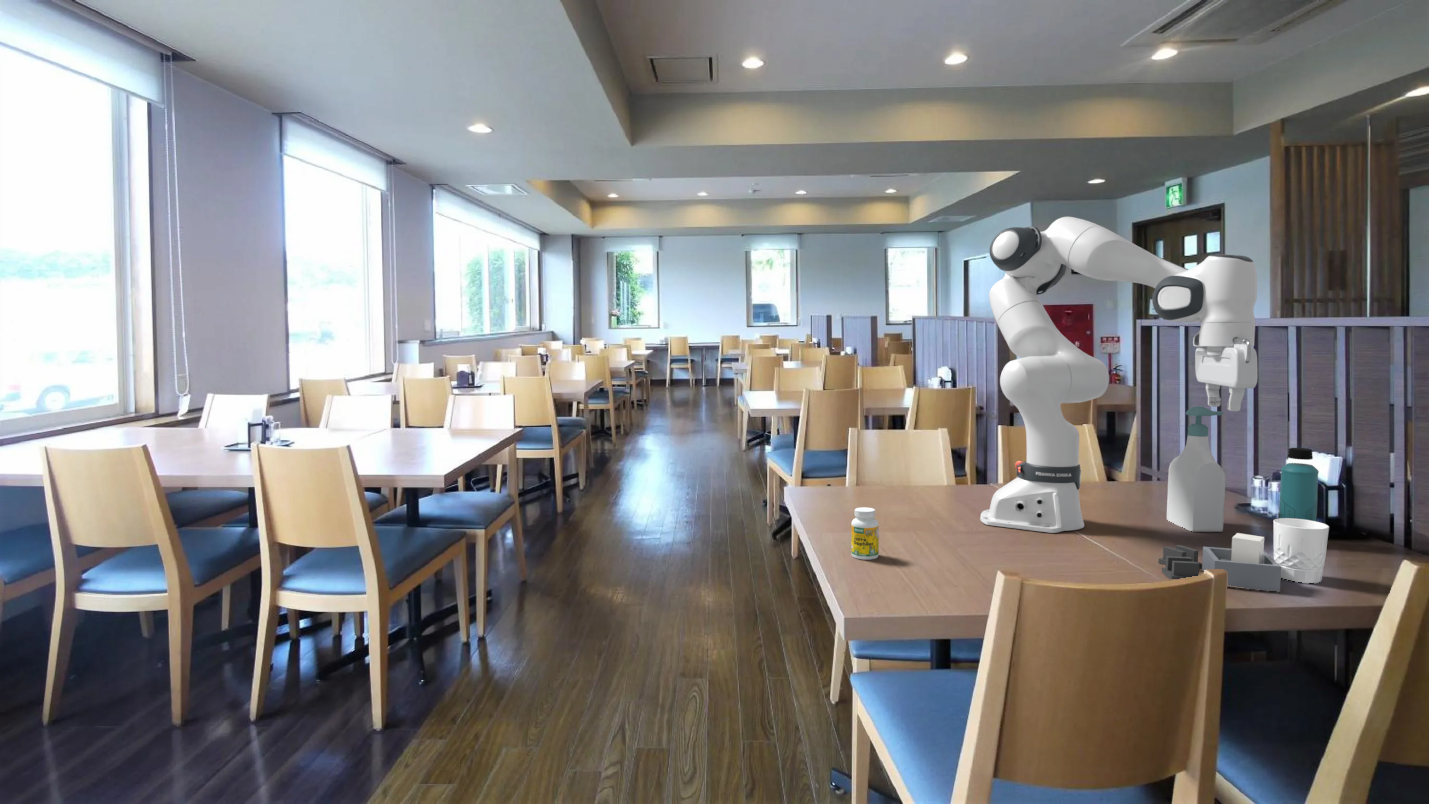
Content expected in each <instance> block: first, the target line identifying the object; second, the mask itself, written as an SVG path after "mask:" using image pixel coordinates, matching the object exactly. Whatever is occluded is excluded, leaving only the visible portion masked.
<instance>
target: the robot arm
mask: <svg viewBox="0 0 1429 804" xmlns="http://www.w3.org/2000/svg"><path fill="white" fill-rule="evenodd" d="M989 256H990V259H991V261H992V262H993V264H994V265H995V266H996V267H997V268H998V269H999V270H1001V271H1003V272H1005V273H1004V276H1003V278H1001V279H999V280H998V281H996V282H995V283H994V284H993V285H992V287H991V288H990V290H989V292H988V293H989V294H988V300H989V304H990V307H991V311H992V314H993V318H994V320H995V322H996V324H997V326H998V329H999V330H1000V333H1001V334H1002V336H1003V338H1004V341H1006V344H1007V346H1008V348H1009V350H1010V351H1011V352H1012V353H1013V354H1014V355H1015V356H1017V357H1018V358H1016V359H1013V360H1010V361H1008V362H1007V363H1006V364H1005V365H1004V366H1003V369H1002V370H1001V374H1000V377H999V385H1000V388H1001V389H1000V390H1001V391H1002V394H1003V395H1004V396H1005V399H1007V400H1009V401H1010V402H1011V403H1012V404H1013V405H1014V406H1015V408H1016V409H1017V410H1018V411H1019V413H1020V415H1021V418H1022V421H1023V423H1024V427H1025V436H1026V437H1025V439H1026V442H1025V443H1026V461H1022V460H1018V461H1016V462H1015V465H1014V467H1015V469H1016V477H1015V478H1014V479H1012V480H1011V481H1009V482H1008V483H1006V484H1005V485H1003V486H1001V487H1000V488H999V489H997V490H996V491H995V492H994V494H993V495H992V497H991V501H990V506H989V509H985V510H982V511H981V513H980V517H979V520H980V522H982V524H985V525H987V526H992V527H993V526H995V527H1003V528H1010V529H1017V530H1026V531H1035V532H1042V533H1043V532H1044V533H1051V534H1056V533H1061V532H1064V531H1065V532H1067V531H1075V530H1076V531H1077V530H1080V529H1083V528H1084V527H1085V525H1086V524H1085V522H1084V518H1083V514H1082V510H1081V503H1080V492H1079V491H1080V489H1081V485H1082V484H1081V483H1082V469H1081V464H1080V463H1079V460H1080V459H1079V457H1080V433H1079V430H1078V428H1077V427H1076V426H1075V425H1074V424H1072V423H1070V421H1068V420H1066V418H1065V417H1064V414H1063V412H1062V407H1061V405H1062V404H1075V403H1077V404H1078V403H1084V402H1088V401H1091V400H1094V399H1099V398H1100V397H1102V396H1103V395H1104V394H1105V393H1106V391H1107V389H1108V386H1109V384H1110V375H1109V374H1110V373H1109V369H1108V367H1107V366H1106V365H1105V363H1104V362H1103V361H1102V360H1100V359H1099V358H1096V357H1094V356H1091V355H1089V354H1088V353H1086V352H1084V351H1083V350H1082V349H1080V348H1078V347H1077V346H1076V345H1075V344H1074V343H1073V342H1072V341H1070V340H1069V339H1068V338H1067V337H1066V336H1064V335H1063V334H1062V333H1061V332H1060V330H1059V329H1058V328H1057V327H1056V325H1055V323H1054V321H1052V319H1051V317H1050V315H1049V313H1048V312H1047V311H1046V309H1045V307H1044V305H1043V304H1042V302H1041V300H1040V299H1039V296H1038V295H1043V294H1045V293H1046V292H1047V291H1048V290H1049V289H1051V288H1053V287H1054V286H1055V285H1057V284H1058V283H1059V282H1060V281H1061V280H1062V278H1063V277H1064V276H1065V274H1066V271H1067V267H1068V268H1069V269H1071V270H1073V271H1075V272H1077V273H1078V274H1081V275H1083V276H1086V277H1089V278H1091V279H1095V280H1099V281H1106V282H1107V281H1109V282H1110V281H1111V282H1125V283H1126V282H1127V283H1135V284H1141V285H1145V286H1148V287H1151V288H1154V291H1153V293H1152V299H1151V300H1152V302H1151V303H1152V306H1153V309H1154V312H1155V313H1156V315H1158V316H1159V317H1160V318H1162V319H1163V320H1167V321H1171V322H1176V323H1177V322H1180V323H1181V322H1183V323H1185V322H1186V323H1200V329H1199V330H1198V332H1197V333H1196V334H1195V335H1194V337H1193V338H1192V339H1193V340H1192V344H1193V347H1196V349H1195V355H1194V356H1195V357H1194V358H1195V359H1194V361H1195V362H1194V366H1195V370H1194V371H1195V377H1196V380H1197V382H1199V383H1203V384H1205V391H1206V395H1207V405H1208V406H1209V407H1213V408H1214V407H1220V406H1221V401H1222V398H1221V397H1220V389H1221V387H1227V388H1228V393H1230V395H1229V398H1228V401H1227V402H1226V410H1228V411H1230V412H1239V411H1240V410H1241V408H1242V407H1241V406H1242V405H1241V404H1242V401H1243V398H1244V396H1245V393H1246V389H1254V388H1256V386H1257V383H1258V354H1257V350H1256V349H1255V348H1254V346H1255V338H1256V337H1255V336H1256V334H1255V333H1256V317H1255V314H1254V309H1255V304H1256V302H1257V297H1258V296H1257V295H1258V294H1257V293H1258V279H1257V278H1258V277H1257V267H1256V264H1255V262H1254V260H1253V259H1251V258H1250V257H1248V256H1245V255H1239V254H1236V255H1235V254H1226V253H1225V254H1224V253H1223V254H1222V253H1216V254H1215V253H1214V254H1210V255H1208V256H1207V257H1206V258H1205V259H1204V260H1203V261H1201V262H1200V263H1198V264H1197V265H1195V266H1193V267H1191V268H1189V269H1188V268H1186V267H1183V266H1182V265H1180V264H1176V263H1174V262H1171V261H1169V260H1167V259H1166V258H1162V257H1161V256H1159V255H1158V256H1157V255H1155V254H1154V253H1151V252H1150V251H1148V250H1146V249H1144V248H1142V247H1140V246H1138V245H1136V244H1135V243H1133V242H1131V241H1129V240H1128V239H1126V238H1124V237H1122V236H1121V235H1119V234H1117V233H1116V232H1113V231H1112V230H1110V229H1108V228H1105V227H1104V226H1103V225H1099V224H1097V223H1094V222H1092V221H1089V220H1086V219H1083V218H1078V217H1073V216H1062V217H1059V218H1057V219H1055V220H1054V221H1053V222H1052V223H1051V224H1050V225H1049V226H1048V227H1047V229H1045V230H1043V231H1041V230H1039V228H1038V227H1037V226H1025V227H1023V226H1022V227H1020V226H1017V227H1016V226H1015V227H1014V226H1013V227H1007V228H1004V229H1003V230H1001V231H1000V232H998V233H997V234H996V235H995V236H994V238H993V239H992V241H991V244H990V247H989Z"/></svg>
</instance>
